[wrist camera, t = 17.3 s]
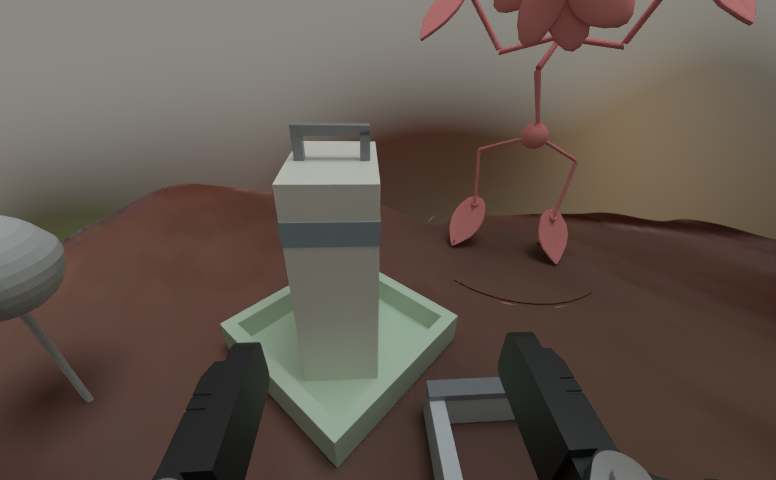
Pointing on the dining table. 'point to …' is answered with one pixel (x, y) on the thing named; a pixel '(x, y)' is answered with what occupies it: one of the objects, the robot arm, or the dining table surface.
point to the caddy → (332, 248)
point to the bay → (459, 416)
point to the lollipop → (32, 282)
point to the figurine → (568, 30)
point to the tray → (353, 396)
